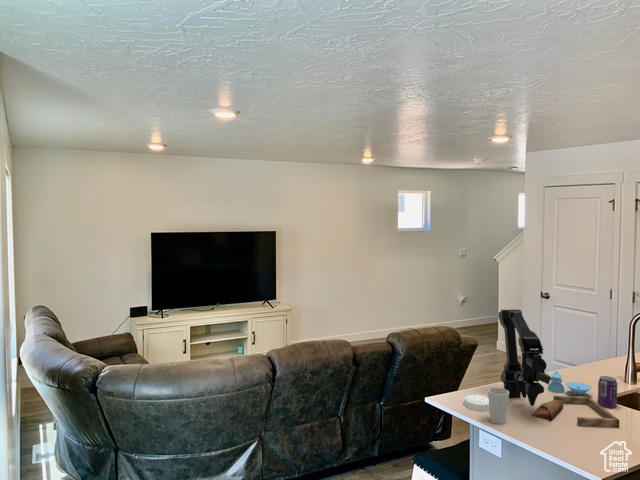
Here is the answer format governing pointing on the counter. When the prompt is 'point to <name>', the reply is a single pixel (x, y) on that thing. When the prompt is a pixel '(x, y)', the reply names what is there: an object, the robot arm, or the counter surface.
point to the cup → (498, 404)
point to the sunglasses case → (548, 410)
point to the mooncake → (477, 402)
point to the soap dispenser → (574, 386)
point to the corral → (607, 418)
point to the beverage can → (607, 391)
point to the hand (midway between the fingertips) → (528, 401)
